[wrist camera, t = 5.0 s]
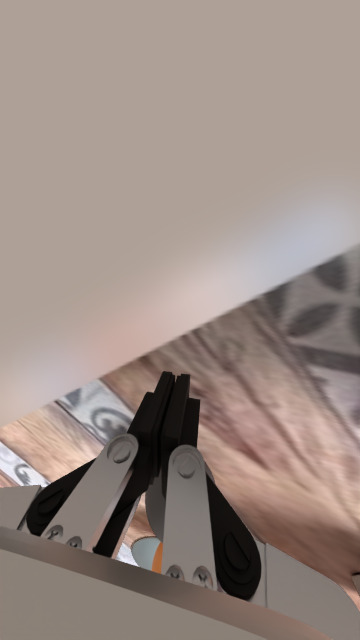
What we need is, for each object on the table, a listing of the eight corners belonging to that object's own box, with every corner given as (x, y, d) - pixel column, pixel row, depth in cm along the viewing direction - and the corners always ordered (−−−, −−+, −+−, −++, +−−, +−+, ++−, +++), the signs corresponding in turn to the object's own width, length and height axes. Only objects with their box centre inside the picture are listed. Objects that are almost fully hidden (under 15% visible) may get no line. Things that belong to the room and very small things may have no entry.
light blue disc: (128, 525, 23) (128, 527, 23) (240, 560, 20) (240, 562, 20) (135, 572, 28) (134, 574, 28) (226, 604, 25) (226, 607, 25)
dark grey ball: (157, 428, 16) (129, 510, 11) (220, 441, 15) (222, 537, 10) (158, 467, 18) (135, 553, 12) (213, 481, 17) (213, 579, 12)
